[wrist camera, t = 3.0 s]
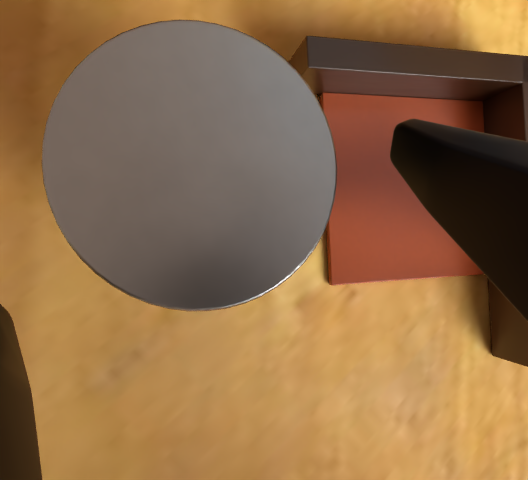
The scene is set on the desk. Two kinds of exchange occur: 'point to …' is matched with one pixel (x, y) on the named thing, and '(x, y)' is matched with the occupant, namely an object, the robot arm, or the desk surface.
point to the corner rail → (383, 171)
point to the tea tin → (189, 165)
